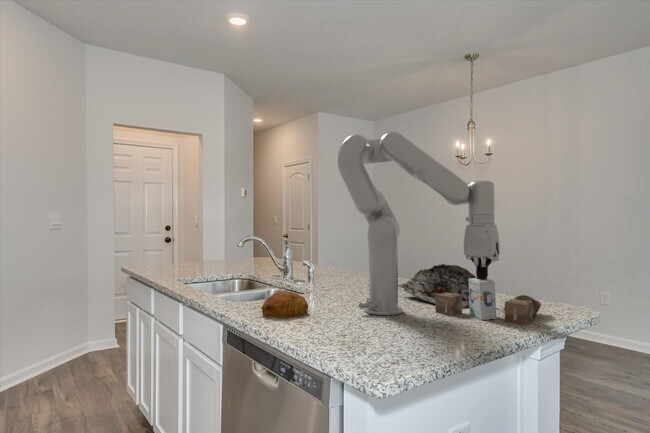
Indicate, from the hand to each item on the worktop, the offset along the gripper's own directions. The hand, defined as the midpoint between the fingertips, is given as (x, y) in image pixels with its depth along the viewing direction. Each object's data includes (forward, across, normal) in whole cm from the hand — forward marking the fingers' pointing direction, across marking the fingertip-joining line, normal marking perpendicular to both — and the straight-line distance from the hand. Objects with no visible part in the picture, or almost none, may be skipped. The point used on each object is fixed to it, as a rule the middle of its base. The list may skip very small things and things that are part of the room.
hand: (482, 278), depth 131 cm
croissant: (+12, -45, -45) cm, 64 cm away
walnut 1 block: (+12, +10, +3) cm, 16 cm away
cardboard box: (+12, -10, -3) cm, 16 cm away
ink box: (+12, 0, 0) cm, 12 cm away
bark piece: (+12, -25, +10) cm, 29 cm away
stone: (+12, +7, +12) cm, 18 cm away
